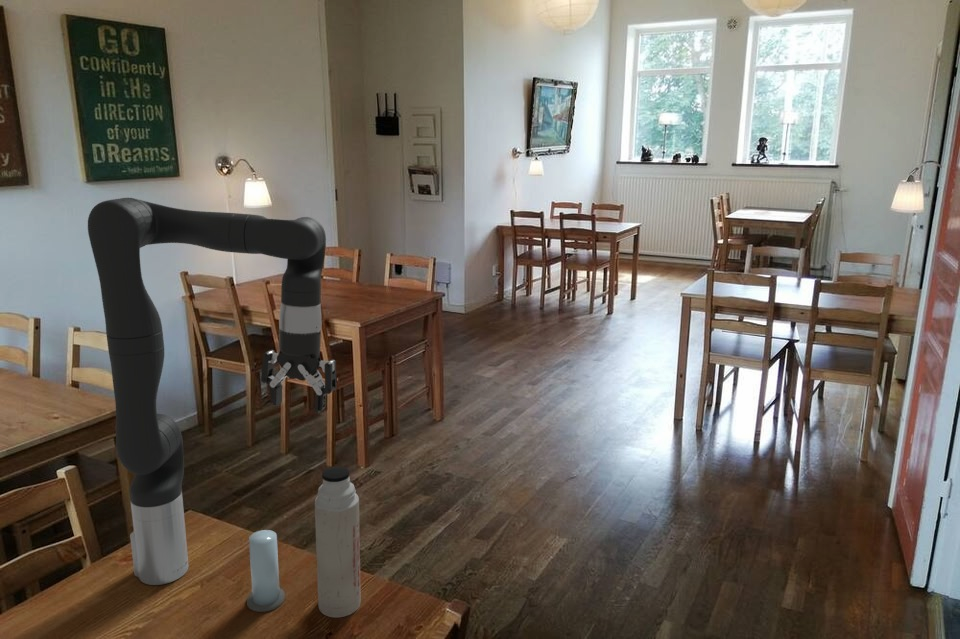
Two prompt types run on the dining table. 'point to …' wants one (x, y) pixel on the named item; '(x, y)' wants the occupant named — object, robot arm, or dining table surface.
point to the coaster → (265, 608)
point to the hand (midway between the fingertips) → (298, 408)
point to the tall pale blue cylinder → (264, 567)
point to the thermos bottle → (337, 544)
